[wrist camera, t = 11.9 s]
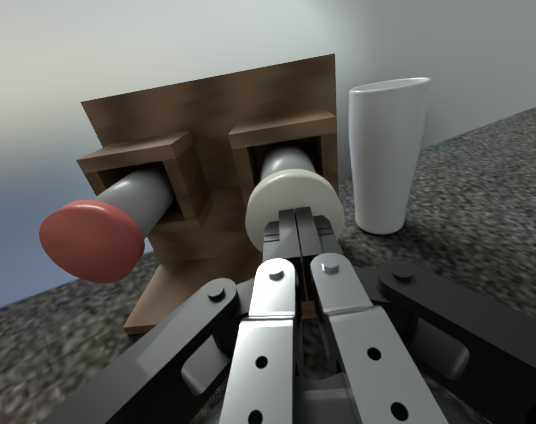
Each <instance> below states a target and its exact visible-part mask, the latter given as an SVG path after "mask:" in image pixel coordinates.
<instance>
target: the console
mask: <svg viewBox="0 0 536 424" xmlns="http://www.w3.org/2000/svg"><path fill="white" fill-rule="evenodd" d="M81 104H82V106H83V108H84V110H85V112H86V114H87V116H88V118H89V120H90V122H91V124H92V126H93V128H94V130H95V132H96V134H97V136H98V138H99V140H100V142H101V144H102V146H103V148H102V149H100V150H98V151H96V152H93V153H91V154H89V155H86V156H84V157H82V158H80V159H77V160H76V161H77V162H78V164H79V166H80V167H81V169H82V171H83V173H84V175H85V176H86V178H87V180H88V182H89V184H90V185H91V187H92V189H93V191H94V192H95V194H96V196H98V195H99V194H101V193H102V192H104V191H105V190H107V189H108V188H109V187H111V186H112V185H114V184H115V183H117V182H118V181H119V180H121V179H122V178H124V177H125V176H127V175H128V174H129V173H131V172H132V171H134V170H135V169H137V168H138V167H140V166H141V165H142V164H145V163H151V162H157V161H163V164H164V166H165V169H166V172H167V174H168V177H169V179H170V182H171V185H172V187H173V190H174V192H175V195H176V199H175V200H174V202H173V203H172V204H171V205H170V207H169V208H168V209H167V211H166V212H165V213H164V215H163V216H162V217H161V218H160V220H159V221H158V222H157V224H156V225H155V226H154V227H153V229H152V230H151V231H150V233H149V234H148V235H147V236H146V237H148V239H149V241H150V243H151V245H152V247H153V249H154V252H155V254H156V256H157V258H158V260H159V262H160V265H159V267H158V269H157V271H156V272H155V274H154V276H153V277H152V279H151V281H150V282H149V284H148V286H147V287H146V289H145V291H144V292H143V294H142V296H141V298H140V299H139V301H138V303H137V304H136V306H135V308H134V309H133V311H132V313H131V314H130V316H129V318H128V320H127V321H126V323H125V325H124V326H123V329H124V330H125V331H126V333H127V334H128V335H131V334H143V333H148V332H149V331H150V330H151V329H153V328H154V327H155V326H156V325H157V324H158V323H160V322H161V321H162V320H163V319H164V318H166V317H167V316H168V315H169V314H170V313H172V312H173V311H174V310H175V309H176V308H178V307H179V306H180V305H181V304H182V303H184V302H185V301H186V300H187V299H188V298H190V297H191V296H192V295H193V294H194V293H196V292H197V291H198V290H199V289H200V288H201V287H203V286H204V285H205V284H207V283H208V282H210V281H212V280H215V279H219V278H226V279H230V280H232V281H233V282H234V283H235V285H238V284H241V283H243V282H246V281H248V280H250V279H252V278H254V277H255V276H256V274H257V270H258V268H259V267H260V266H261V265H262V262H263V253H262V252H260V251H259V250H258V249H257V248H256V247H255V246H254V245H253V243H252V242H251V240H250V239H249V237H248V234H247V231H246V226H245V218H246V212H247V207H248V202H249V199H250V196H251V194H252V192H253V190H254V189H255V187H256V186H257V185H258V184H259V183H260V180H261V171H262V163H263V156H264V152H265V150H266V148H267V147H268V146H269V145H270V144H271V143H276V142H282V141H288V140H294V139H295V140H297V141H299V142H300V143H301V144H302V145H303V146H304V147H305V149H306V151H307V153H308V155H309V158H310V160H311V162H312V165H313V167H314V169H315V172H316V174H318V175H320V176H321V177H323V178H324V179H325V180H327V181H328V182H329V184H330V185H331V186H332V187H333V189H334V190H335V192H336V194H337V196H338V165H337V164H338V161H337V120H336V79H335V54H329V55H325V56H319V57H314V58H309V59H303V60H298V61H293V62H288V63H283V64H277V65H272V66H267V67H262V68H256V69H251V70H246V71H241V72H235V73H231V74H225V75H220V76H214V77H209V78H204V79H199V80H194V81H188V82H184V83H178V84H173V85H167V86H162V87H157V88H152V89H147V90H141V91H136V92H131V93H126V94H120V95H115V96H110V97H105V98H99V99H94V100H89V101H84V102H81ZM337 241H338V244H339V247H340V249H341V252H342V255H343V256H344V257H345V255H344V253H343V250H342V248H341V245H340V240H339V239H338V240H337ZM301 263H302V261H301ZM302 271H303V264H302ZM303 279H304V287H305V295H306V301H305V302H302V311H303V313H302V319H310V318H316V315H315V307H314V301H308V297H307V290H306V284H305V277H304V271H303Z"/></svg>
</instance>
